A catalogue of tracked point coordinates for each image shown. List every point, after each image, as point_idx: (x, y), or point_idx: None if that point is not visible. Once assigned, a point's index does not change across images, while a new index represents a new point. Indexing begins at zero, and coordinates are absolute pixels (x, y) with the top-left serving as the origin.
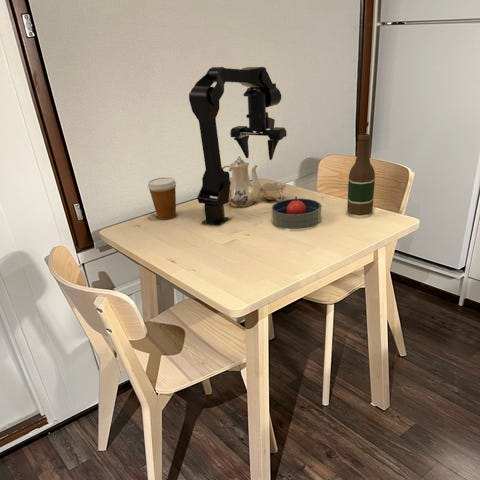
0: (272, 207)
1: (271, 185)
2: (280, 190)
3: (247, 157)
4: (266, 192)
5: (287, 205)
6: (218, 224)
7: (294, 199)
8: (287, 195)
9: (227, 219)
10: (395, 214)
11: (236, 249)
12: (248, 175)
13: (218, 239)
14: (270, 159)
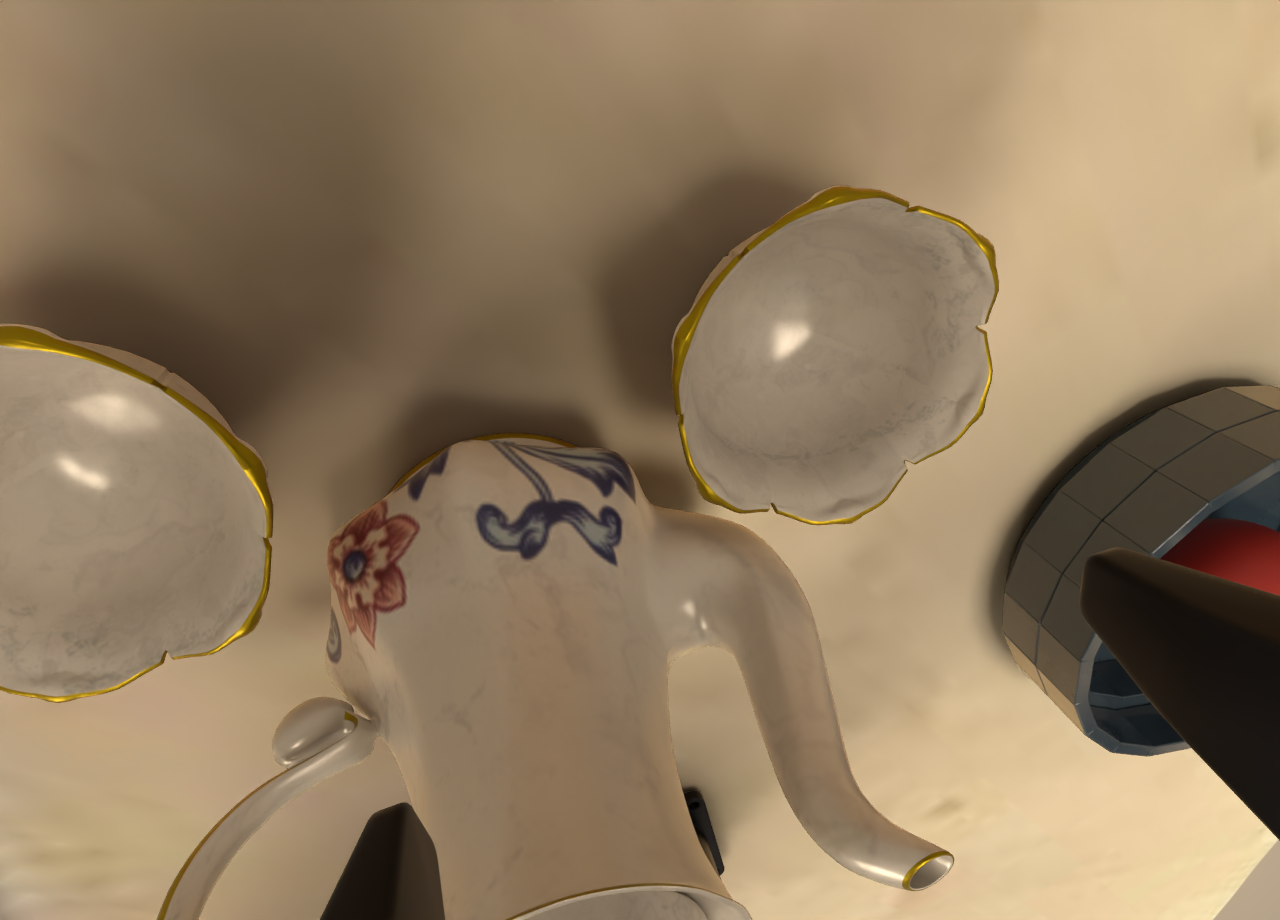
0: (1092, 728)
1: (733, 272)
2: (957, 369)
3: (429, 855)
4: (812, 484)
5: (1111, 536)
6: (722, 871)
7: (1206, 514)
8: (793, 9)
9: (704, 802)
10: None
11: (979, 892)
12: (626, 711)
13: (841, 910)
14: (1112, 618)
